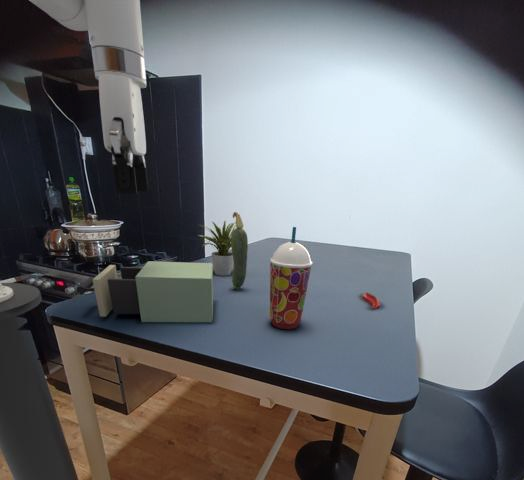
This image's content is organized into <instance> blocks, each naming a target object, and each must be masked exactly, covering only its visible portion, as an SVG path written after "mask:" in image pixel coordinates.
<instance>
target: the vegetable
mask: <svg viewBox="0 0 524 480" xmlns="http://www.w3.org/2000/svg"><path fill="white" fill-rule="evenodd" d="M234 218H235V225H236V226H235V225H234V227H235V229H234V230H233V229H232V230H233V232H232V231H231V232H232V234H231V233H230V234H231V237H230V238H231V242H230V243H231V248H230V249H231V253H232V255H233V267H232V279H231V282H232V286H233V288H234V289H235V290H237V291H238V290H239V289H240V288H241V287H243V285H244V283H245V280H246V276H247V266H248V248H249V241H248V239H249V238H248V234H247V232H246V230H245V229H244V223H243V220H242V217H241V214H239V213H238V212H236V211H234V212H233V213H232V219H234Z"/></svg>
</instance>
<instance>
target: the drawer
mask: <svg viewBox="0 0 524 480" xmlns="http://www.w3.org/2000/svg"><path fill="white" fill-rule="evenodd" d="M143 267H144V266H142V267H141V266H140V267H138V266H137V267H136V266H120V267H119V271H120V275H121V277H120V278H118V271H117V266H116V264H109V265H108V266H107V267H106V268H104V269H103V270H102V271H100V272H99V273H98V274H97V275H96V276H95V277H94V276H89V277H88V278H87V279H85V281H83V282H82V283H80V284H79V285H78V286H77V287H76V289H75V290H76V292H77V293H78V294H80V295H84V294H85V293H86V292H94V294H95V298H96V304H97V309H98V315H99V317H101V318H102V317H103V318H104V317H107V316H108V315H109V314H110V312H111V311H112V314H113V315H140V308H139V300H138V293H137V285H136V278H135V277H136V275H137V274H138V273H139V272H140V271H141V269H142V268H143Z"/></svg>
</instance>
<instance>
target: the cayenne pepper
mask: <svg viewBox="0 0 524 480" xmlns="http://www.w3.org/2000/svg"><path fill="white" fill-rule="evenodd" d="M362 299H363V300H364V301H365V302H367V303H369V304H370V305H371V306H372V307H370V310H375V309H379V308H380V307H381V301H380V300H378V298H377V297H376V296H375V295H373V294H371V293H369V292H365V294H364V293H363V294H362Z"/></svg>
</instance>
